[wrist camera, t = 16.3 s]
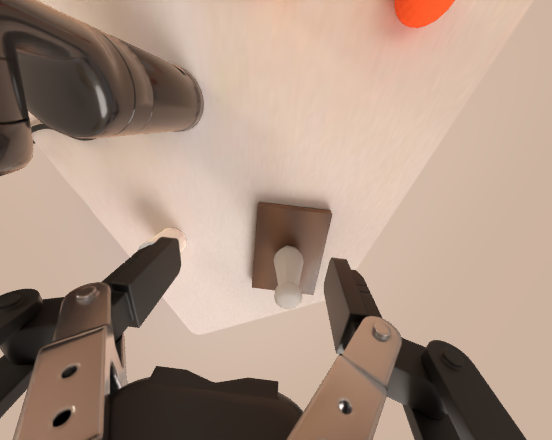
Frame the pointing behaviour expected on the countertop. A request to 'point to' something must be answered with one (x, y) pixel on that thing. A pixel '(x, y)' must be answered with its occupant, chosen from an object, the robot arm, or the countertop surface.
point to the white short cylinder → (171, 234)
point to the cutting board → (289, 242)
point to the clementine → (420, 11)
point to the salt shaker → (288, 277)
